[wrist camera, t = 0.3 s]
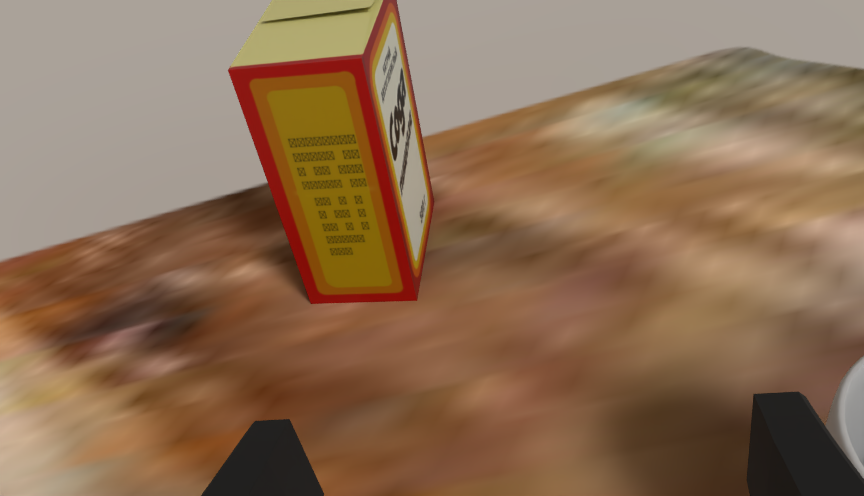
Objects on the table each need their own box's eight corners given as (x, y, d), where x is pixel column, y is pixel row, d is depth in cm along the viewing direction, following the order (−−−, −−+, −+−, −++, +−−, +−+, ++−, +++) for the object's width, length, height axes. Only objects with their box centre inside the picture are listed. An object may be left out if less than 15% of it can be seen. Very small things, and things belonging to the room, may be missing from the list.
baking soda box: (417, 300, 45) (359, 50, 35) (310, 303, 46) (225, 62, 36) (434, 201, 52) (390, -31, 42) (341, 206, 53) (277, -18, 43)
